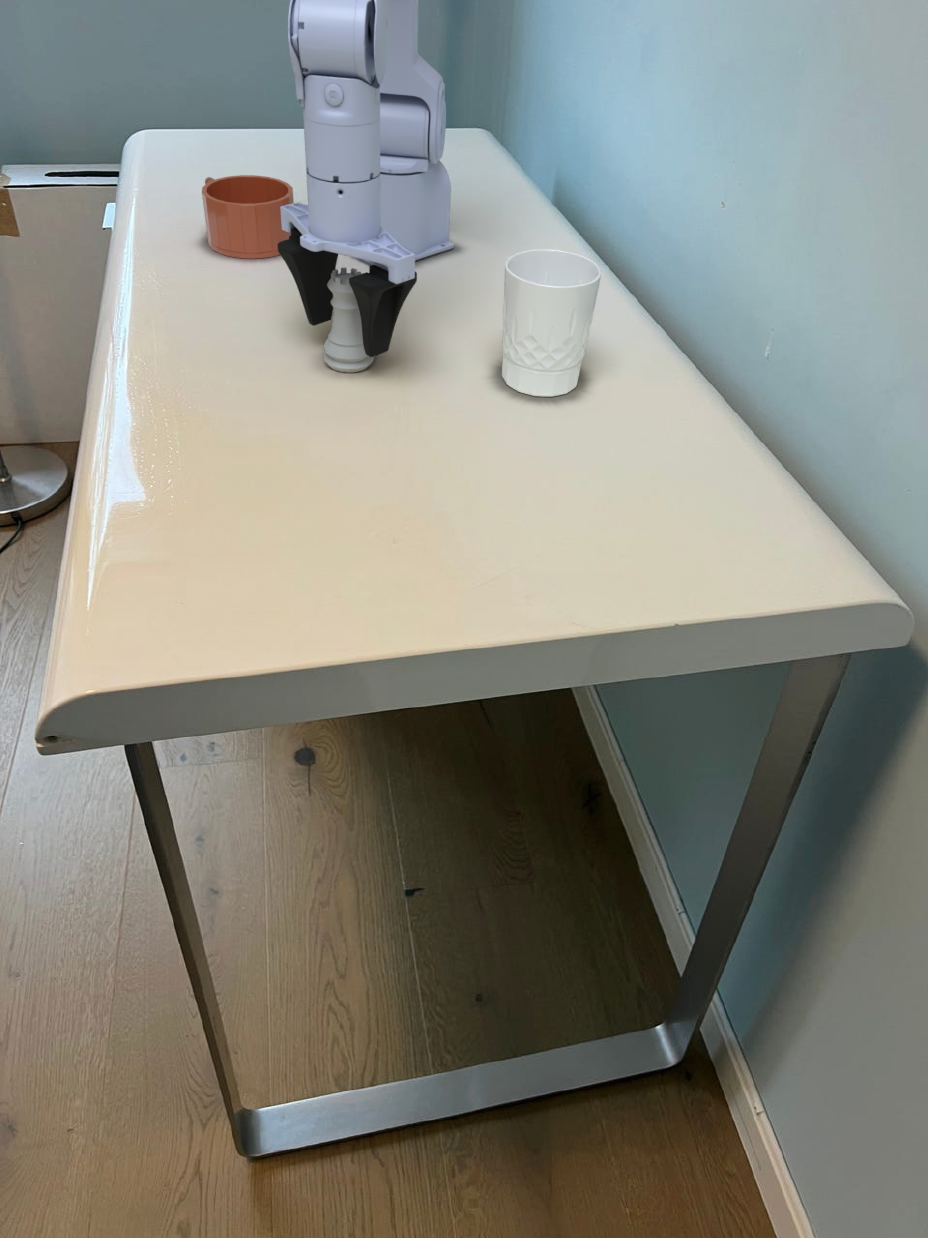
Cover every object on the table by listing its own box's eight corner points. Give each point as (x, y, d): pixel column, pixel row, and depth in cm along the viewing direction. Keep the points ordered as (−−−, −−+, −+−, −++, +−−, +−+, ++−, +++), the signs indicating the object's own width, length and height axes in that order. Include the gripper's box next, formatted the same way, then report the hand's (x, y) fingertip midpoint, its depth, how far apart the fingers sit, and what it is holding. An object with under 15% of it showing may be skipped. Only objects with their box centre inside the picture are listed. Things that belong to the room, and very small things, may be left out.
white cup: (579, 407, 80) (596, 292, 73) (488, 393, 81) (497, 279, 74) (588, 365, 86) (605, 255, 79) (503, 352, 86) (513, 243, 80)
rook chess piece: (324, 350, 85) (320, 262, 79) (373, 351, 85) (373, 263, 80) (322, 374, 82) (318, 283, 76) (374, 374, 82) (373, 284, 77)
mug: (313, 245, 103) (310, 192, 99) (242, 265, 98) (236, 211, 94) (246, 212, 109) (241, 162, 106) (175, 230, 104) (168, 178, 100)
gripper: (244, 156, 74) (260, 320, 83) (365, 208, 67) (368, 381, 76) (315, 141, 78) (322, 299, 87) (436, 189, 71) (431, 356, 80)
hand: (348, 336), depth 82 cm, fingers open, 7 cm apart
